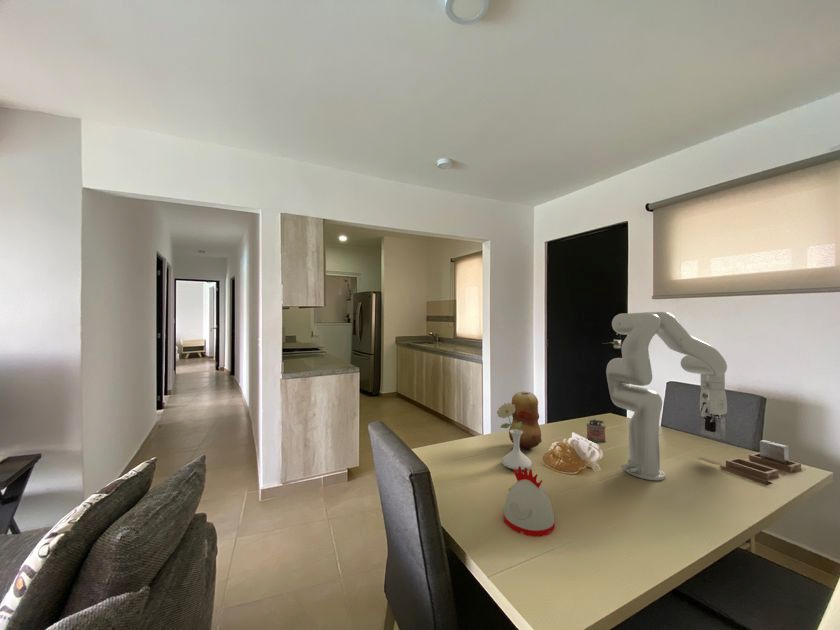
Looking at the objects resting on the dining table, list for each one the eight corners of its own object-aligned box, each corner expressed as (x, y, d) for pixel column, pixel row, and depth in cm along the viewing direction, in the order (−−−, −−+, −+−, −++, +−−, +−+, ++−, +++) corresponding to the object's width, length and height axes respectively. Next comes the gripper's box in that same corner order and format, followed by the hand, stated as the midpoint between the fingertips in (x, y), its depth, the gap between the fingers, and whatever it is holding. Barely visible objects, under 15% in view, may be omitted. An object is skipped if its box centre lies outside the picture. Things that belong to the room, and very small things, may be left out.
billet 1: (720, 439, 132) (720, 418, 132) (700, 433, 138) (700, 414, 139) (725, 438, 133) (725, 418, 133) (705, 432, 140) (705, 413, 140)
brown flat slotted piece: (766, 485, 115) (766, 475, 115) (721, 469, 127) (721, 460, 127) (806, 473, 124) (805, 463, 124) (760, 459, 136) (760, 451, 136)
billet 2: (784, 468, 124) (784, 447, 124) (760, 461, 131) (759, 440, 131) (789, 467, 125) (788, 446, 125) (764, 460, 132) (764, 440, 132)
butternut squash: (508, 452, 145) (508, 394, 145) (509, 441, 157) (509, 388, 158) (542, 455, 141) (541, 396, 141) (540, 444, 153) (540, 390, 154)
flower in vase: (528, 461, 135) (527, 399, 136) (535, 474, 124) (534, 406, 124) (495, 460, 137) (495, 399, 137) (499, 472, 125) (499, 406, 126)
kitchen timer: (515, 502, 105) (515, 454, 105) (561, 518, 96) (560, 466, 96) (495, 523, 94) (494, 469, 94) (544, 544, 85) (543, 485, 85)
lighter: (586, 440, 159) (586, 419, 159) (586, 438, 162) (586, 417, 162) (605, 443, 155) (605, 421, 155) (605, 440, 158) (605, 419, 158)
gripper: (710, 388, 130) (710, 435, 129) (735, 386, 136) (736, 431, 135) (689, 384, 137) (689, 429, 136) (714, 383, 143) (714, 426, 142)
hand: (712, 430), depth 136 cm, fingers closed on billet 1, 3 cm apart
